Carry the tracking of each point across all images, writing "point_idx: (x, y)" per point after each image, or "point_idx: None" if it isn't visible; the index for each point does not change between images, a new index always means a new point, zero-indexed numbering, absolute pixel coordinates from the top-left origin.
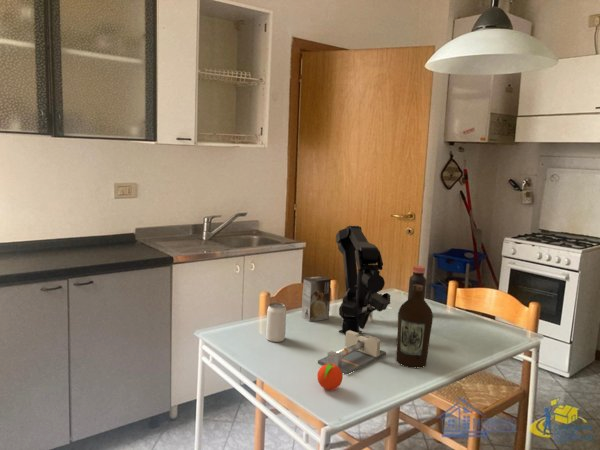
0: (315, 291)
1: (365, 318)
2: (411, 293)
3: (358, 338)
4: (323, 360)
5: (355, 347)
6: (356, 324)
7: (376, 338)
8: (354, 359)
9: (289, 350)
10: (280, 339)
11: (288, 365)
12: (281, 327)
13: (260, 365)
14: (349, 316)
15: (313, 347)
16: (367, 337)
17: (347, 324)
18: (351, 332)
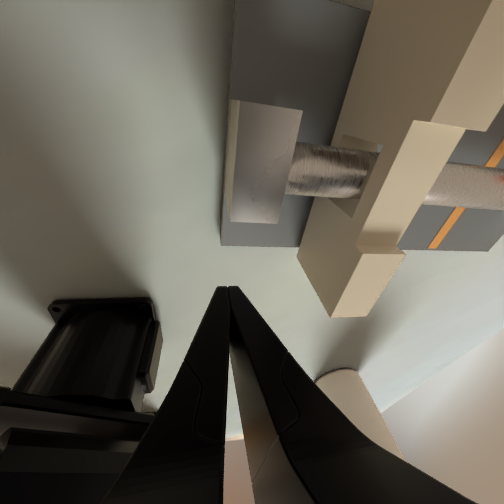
0: None
1: (227, 380)
2: None
3: (407, 217)
4: (486, 238)
5: (482, 172)
6: (92, 354)
7: (249, 113)
8: (461, 140)
9: (392, 334)
10: (353, 374)
11: (495, 286)
12: (371, 412)
13: (498, 318)
14: (118, 421)
15: (344, 317)
16: (281, 195)
17: (150, 369)
18: (367, 292)
